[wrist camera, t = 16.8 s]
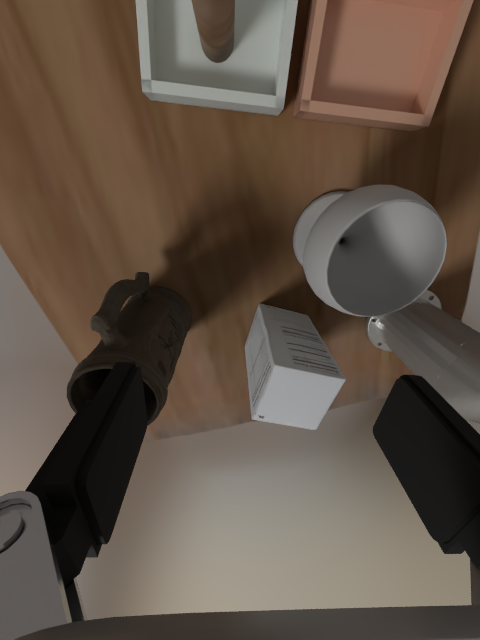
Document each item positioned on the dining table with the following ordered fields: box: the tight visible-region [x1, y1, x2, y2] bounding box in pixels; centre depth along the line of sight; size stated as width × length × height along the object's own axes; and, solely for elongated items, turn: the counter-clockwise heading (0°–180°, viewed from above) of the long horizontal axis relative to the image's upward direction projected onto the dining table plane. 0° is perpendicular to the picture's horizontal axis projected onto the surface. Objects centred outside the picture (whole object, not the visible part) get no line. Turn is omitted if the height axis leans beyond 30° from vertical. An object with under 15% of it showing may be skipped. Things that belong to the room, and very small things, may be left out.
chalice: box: [293, 184, 447, 317], centre depth 32 cm, size 14×14×15 cm
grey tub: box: [136, 0, 298, 116], centre depth 27 cm, size 15×11×4 cm
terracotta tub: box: [293, 0, 473, 132], centre depth 28 cm, size 15×11×4 cm
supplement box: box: [245, 304, 346, 430], centre depth 39 cm, size 10×9×17 cm
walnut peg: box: [191, 0, 235, 63], centre depth 24 cm, size 4×4×8 cm
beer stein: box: [67, 272, 191, 426], centre depth 34 cm, size 15×11×20 cm
